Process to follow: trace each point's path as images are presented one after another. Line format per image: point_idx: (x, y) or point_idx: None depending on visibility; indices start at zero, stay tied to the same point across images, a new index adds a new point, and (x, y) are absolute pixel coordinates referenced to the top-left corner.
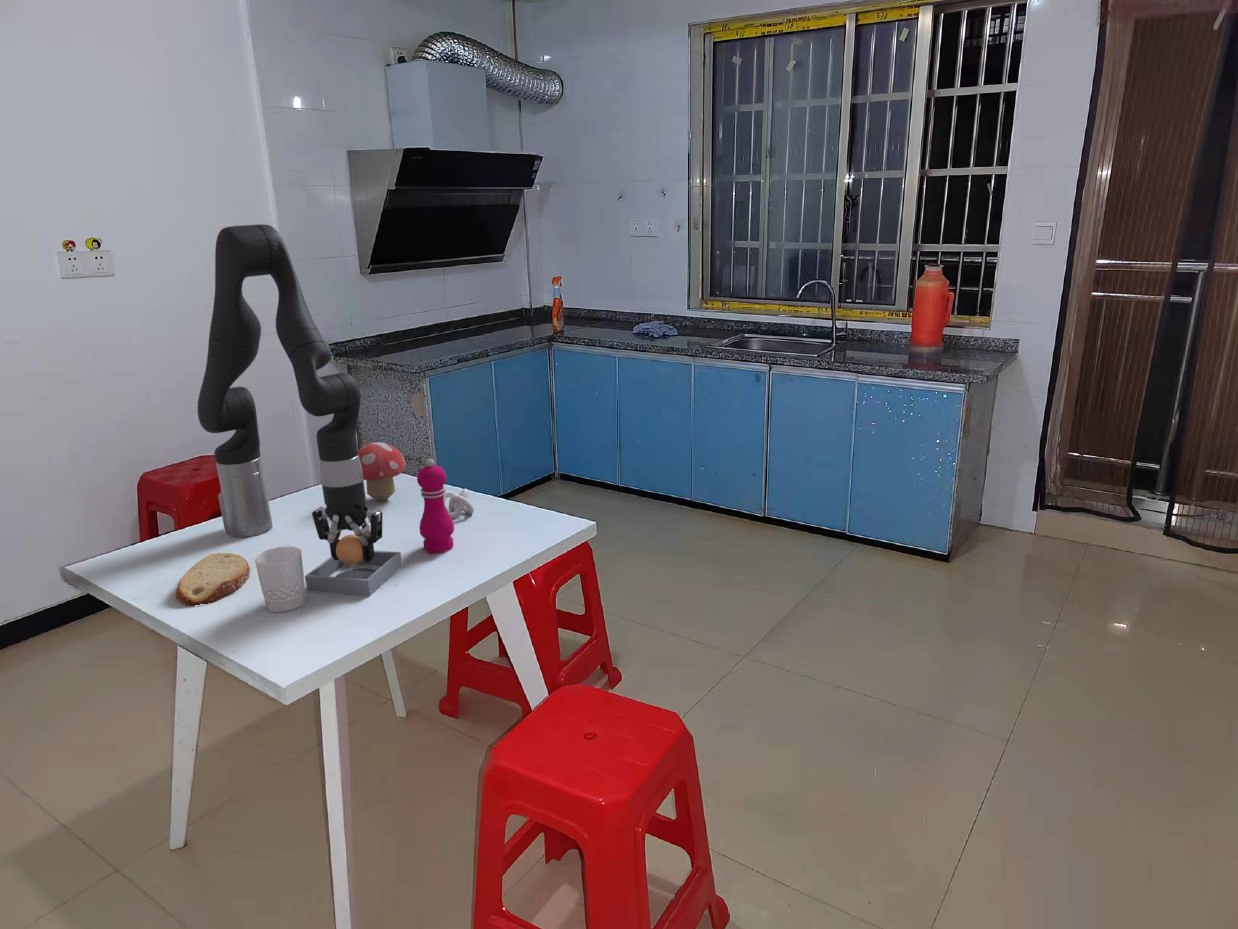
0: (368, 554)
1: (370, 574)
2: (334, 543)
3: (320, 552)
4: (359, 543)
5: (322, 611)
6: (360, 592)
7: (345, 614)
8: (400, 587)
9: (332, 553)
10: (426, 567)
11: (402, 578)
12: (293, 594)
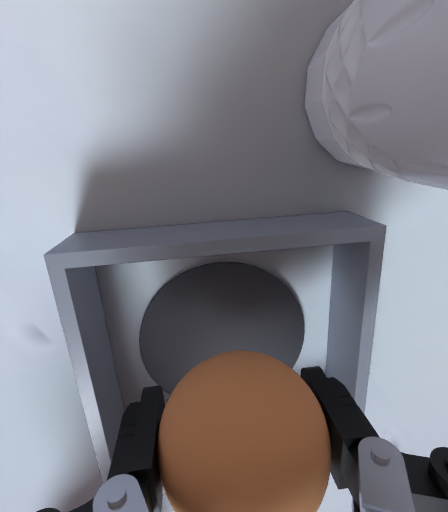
0: (134, 427)
1: (186, 372)
2: (347, 444)
3: (435, 445)
4: (174, 482)
5: (183, 56)
6: (113, 232)
7: (58, 49)
8: (9, 324)
9: (339, 392)
10: (34, 463)
11: (57, 382)
12: (344, 17)
